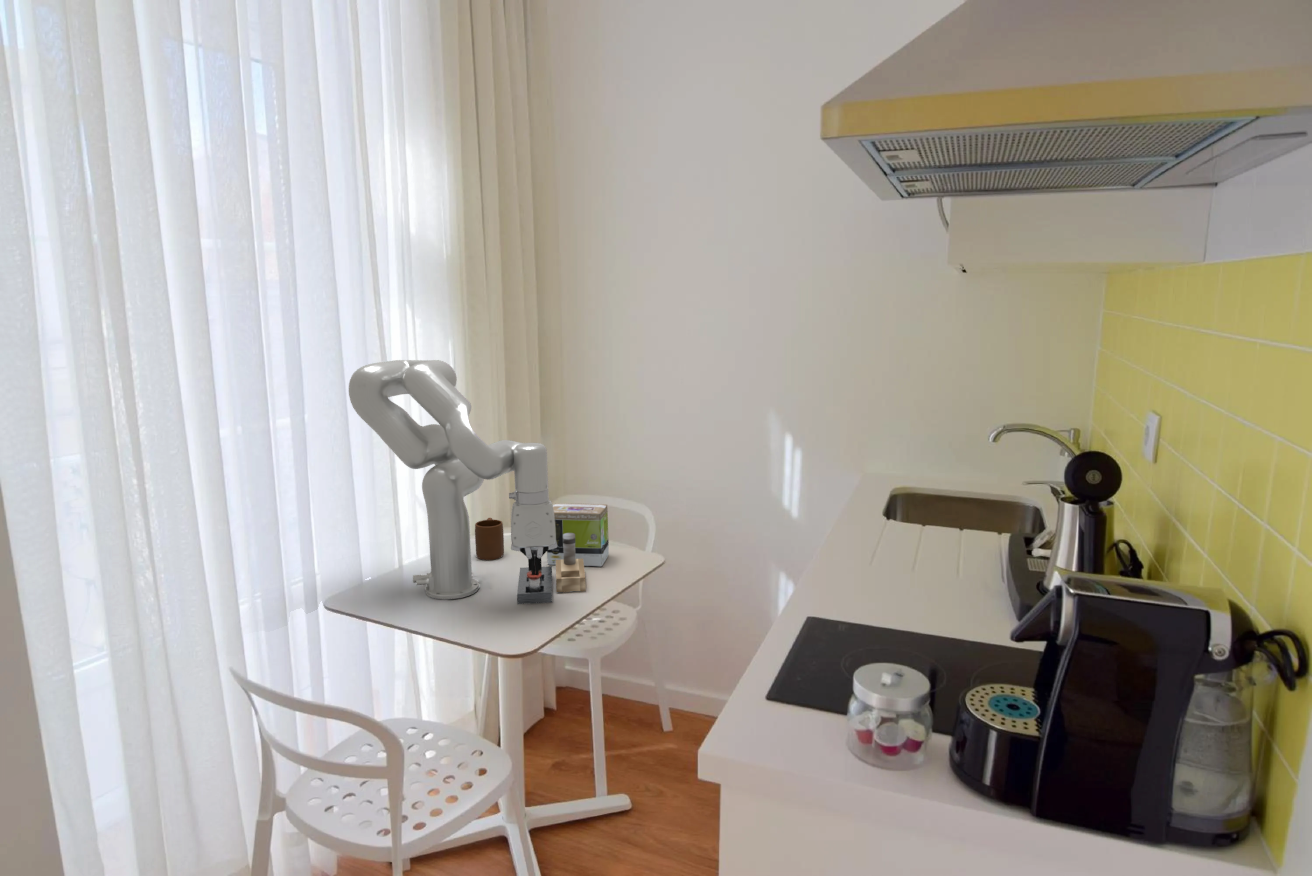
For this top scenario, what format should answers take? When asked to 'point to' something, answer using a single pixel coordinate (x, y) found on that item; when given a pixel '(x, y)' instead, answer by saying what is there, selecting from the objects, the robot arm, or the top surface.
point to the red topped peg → (534, 582)
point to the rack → (570, 568)
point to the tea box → (582, 532)
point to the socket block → (535, 597)
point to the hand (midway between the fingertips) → (535, 573)
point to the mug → (489, 539)
